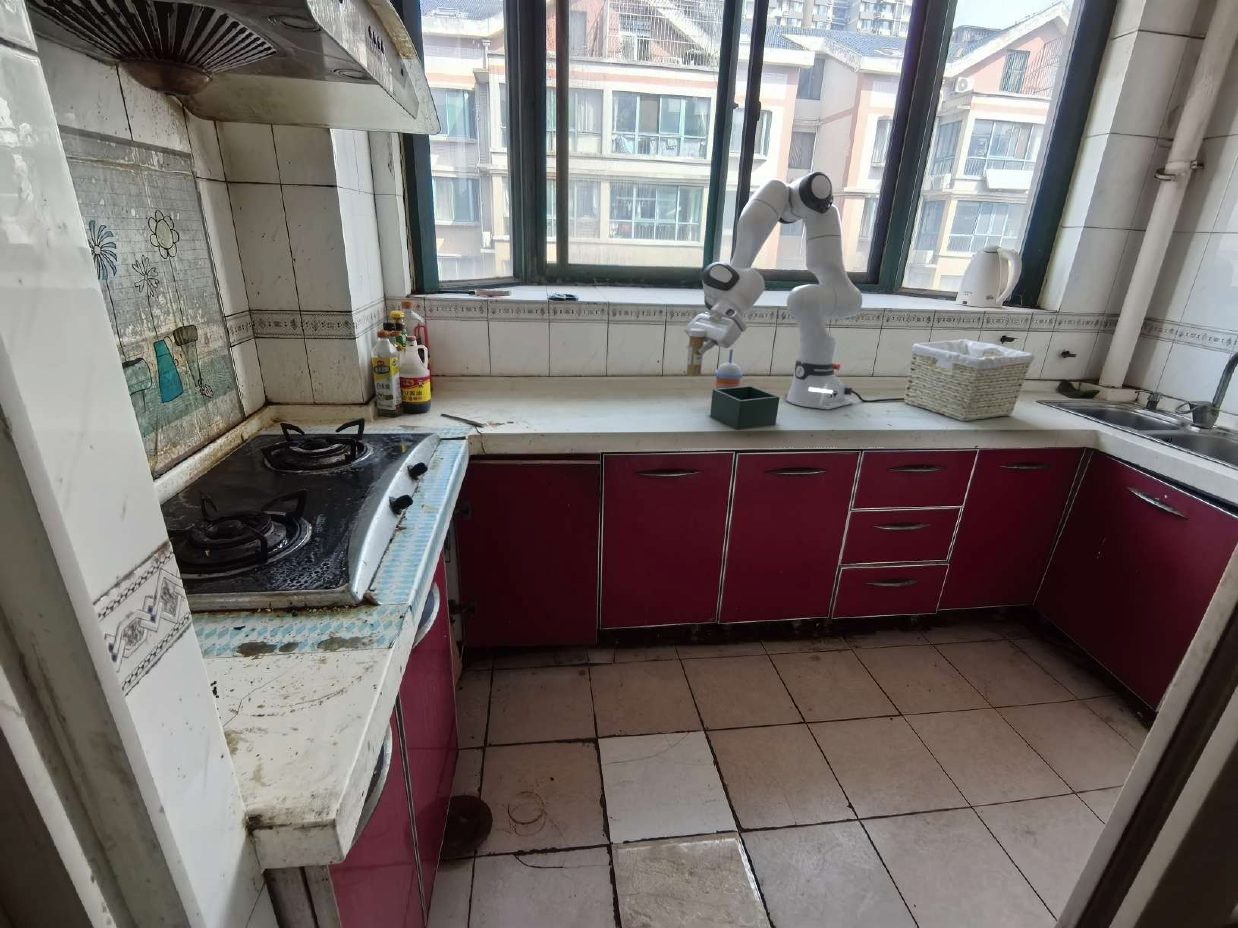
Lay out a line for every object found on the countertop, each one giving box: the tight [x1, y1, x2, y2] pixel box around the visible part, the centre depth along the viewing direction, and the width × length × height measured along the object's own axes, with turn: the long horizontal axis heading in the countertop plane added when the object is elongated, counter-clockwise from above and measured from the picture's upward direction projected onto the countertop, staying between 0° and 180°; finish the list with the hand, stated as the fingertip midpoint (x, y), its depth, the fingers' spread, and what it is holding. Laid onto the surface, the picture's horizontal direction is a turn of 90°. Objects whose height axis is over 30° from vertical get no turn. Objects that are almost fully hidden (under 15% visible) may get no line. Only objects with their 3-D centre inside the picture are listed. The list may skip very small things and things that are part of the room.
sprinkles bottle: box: [685, 328, 705, 377], centre depth 175 cm, size 5×5×14 cm
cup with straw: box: [714, 349, 744, 389], centre depth 194 cm, size 9×9×18 cm
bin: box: [709, 385, 781, 430], centre depth 179 cm, size 15×14×9 cm
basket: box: [903, 338, 1035, 422], centre depth 199 cm, size 27×27×22 cm
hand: (694, 351), depth 175 cm, fingers closed on sprinkles bottle, 4 cm apart
